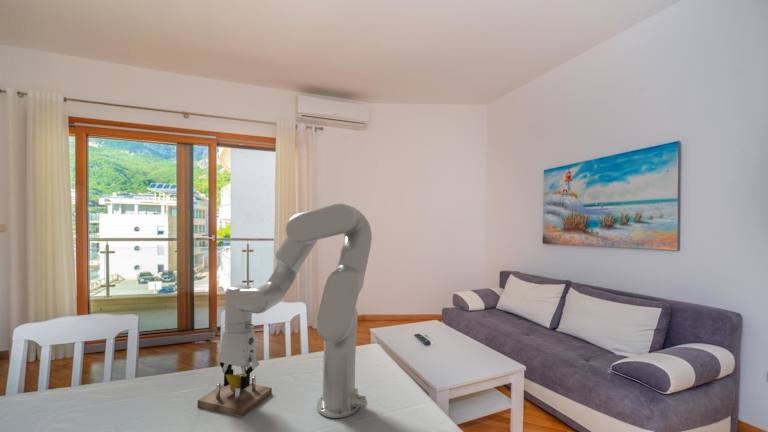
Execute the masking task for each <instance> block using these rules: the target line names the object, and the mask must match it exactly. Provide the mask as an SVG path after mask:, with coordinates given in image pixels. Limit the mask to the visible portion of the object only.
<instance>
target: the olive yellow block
mask: <svg viewBox="0 0 768 432" xmlns="http://www.w3.org/2000/svg"><path fill="white" fill-rule="evenodd" d="M225 376H226V378H227V380H228V382H229V384H230V389H231V391H232V392H234V393H235V388H236V387H240V392H241V391H242V390H241V376H243V374H242V373H238V375H225Z"/></svg>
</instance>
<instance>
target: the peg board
mask: <svg viewBox="0 0 768 432" xmlns="http://www.w3.org/2000/svg"><path fill="white" fill-rule="evenodd" d="M233 375H239V373H238V372H233ZM256 382H257V377H256V375H254V376H251V383H250V385H249V386H248V387H246V388H245V389H243V390H242V391H241V392H240V387H236V388H235V393H234V392H232V391H231V389H230V384H229V385H228V386H224V383H223V384H221V383H220V382H218V383H216V384H215V389H214V390H212V391H209V393H207V394H206V395H203V396H202V397H201V398H199V399H198V400H197V404H196V405H197V407H199V408H203V409H206V410H211V411H216V412H220V413H224V414H228V415H233V416H237V417H241V418H244V417H245V416H246V415H247V414H248V413H249V412H251V411H252V410H253V409H254V408H256V407H257V406H258V405H260V404H261V403H262V402H263V401H265V400H266V399H267V398H268V397H269V396H270V395H272V394H273V393H272V392H273V391H272V387H270V386H264V385H259V384H256Z"/></svg>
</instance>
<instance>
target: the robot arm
mask: <svg viewBox="0 0 768 432" xmlns="http://www.w3.org/2000/svg"><path fill="white" fill-rule="evenodd" d="M370 225H371V224H370V223H369V221H368V219H367V217H366V216H365V215H364V214H363V212H361V211H360V210H358V209H357V208H355V206H351V205H349V204H344V203H334V204H330V205H327V206H324V207H323V206H322V207H319V208H316V209H310V210H307V211H303V212H299V213H296V214H293V215H292V216H291V217H290V218H289V219H288V221H287V222H286V225H285V233H286V237H285V238H284V240H283V242H282V243H281V244H280V246H279V247H278V249H277V250H276V252H275V258H276V266H275V269H274V271H273V272H272V274H271V276H270V277H269V278H268V279H267V281H266V283H265V284H262V285H259V286H256V287H254V288H252V286H250V285H247V284H236V285H231V286H229V287H227V288H226V291H225V300H224V301H225V303H224V304H225V306H224V308H225V309H224V310H225V311H224V330H223V332H222V337H221V343H220V351H219V354H218V355H217V356H216V359H215V360H216V361H217V362H218V363H219V367H220V368H221V372H222V373H223V384H224V386H228V385H229V382H228V380H227V378H226V376H225V375H233V374H234V368H233V367H234V366H236V367H240V370H241V374H243V376H241V390H243V389H245V388H246V387H248V386H249V385H250V384H251V383H250V382H251V374H252V373H253V371H254V370H256V368H257V367H258V366H260V361H258V359H257V343H256V342H257V341H256V335H255V334H256V333H255V330H254V328H255V325H254V324H253V323H252V322H253V321H252V320H253V314H264V313H265V312H267V311H268V310H270V309H271V308H273V307H274V306H276V305H278V304H279V303H280V302H281V301H282V300H283V299H284V297H286V294H287V293H288V292H289V290H290V288H291V287H292V285H293V283H294V282H295V279H296V278H297V275H298V274H299V272H300V269H301V267H302V265H303V264H304V262H305V260H306V259H307V258H308V256H309V255H310V253H311V251H312V250H313V249H314V247H315V246H316V244H317V242H318V241H319V240H323V239H327V238H331V237H335V236H338V235H343V236H344V237H343V241H342V245H341V249H340V255H339V259H338V262H337V266H336V269H335V270H334V271H332V272H331V273H330V275H328V277H327V279H326V282H325V284H324V287H323V292H322V296H321V300H320V304H319V308H318V314H317V317H316V331H317V334H318V335H319V337H320V338H321V339H322V340H323V355H322V356H323V363H322V364H323V365H322V366H323V367H322V368H323V369H322V396H321V397H320V398H319V399H318V400H317V402H316V409H317V411H318V413H320V415H322V416H324V417H327V418H331V419H341V418H346V417H349V416H352V415H353V414H355V413H356V412H357V411H358V410H359V408H366V409H367V407H368V400H367V396H366V395H361V394H359V388H356V354H357V351H356V350H357V348H356V347H357V346H356V345H357V329H358V318H359V317H358V311H357V307H356V306H357V302H358V298H359V294H360V292H361V291H362V289H363V287H364V282H365V276H366V271H367V267H368V266H367V265H368V261H369V255H370V251H371V247H372V246H371V245H372V241H373V240H372V239H373V238H372V237H373V236H372V228H371V226H370Z"/></svg>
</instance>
